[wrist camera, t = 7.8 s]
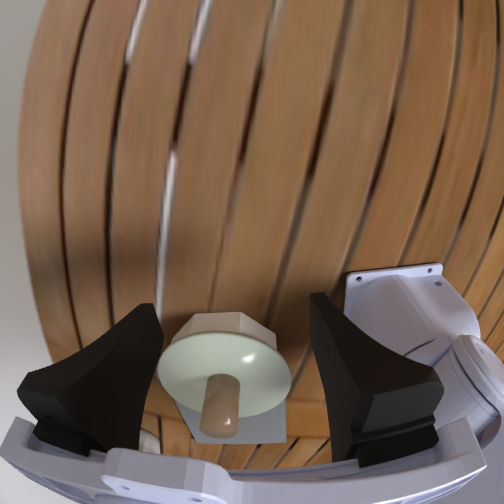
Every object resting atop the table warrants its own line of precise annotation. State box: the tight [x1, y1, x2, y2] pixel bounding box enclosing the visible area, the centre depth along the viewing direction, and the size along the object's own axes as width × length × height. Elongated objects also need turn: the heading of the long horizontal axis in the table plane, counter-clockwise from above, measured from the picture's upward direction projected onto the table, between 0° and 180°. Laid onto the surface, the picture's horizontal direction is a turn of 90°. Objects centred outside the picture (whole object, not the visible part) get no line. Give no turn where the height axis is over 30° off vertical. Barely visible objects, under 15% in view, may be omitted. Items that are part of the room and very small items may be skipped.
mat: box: [173, 398, 286, 444], centre depth 33 cm, size 13×13×1 cm
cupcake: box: [139, 429, 160, 454], centre depth 32 cm, size 9×9×10 cm
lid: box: [158, 331, 291, 439], centre depth 22 cm, size 12×12×6 cm
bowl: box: [171, 312, 277, 350], centre depth 26 cm, size 10×10×3 cm
